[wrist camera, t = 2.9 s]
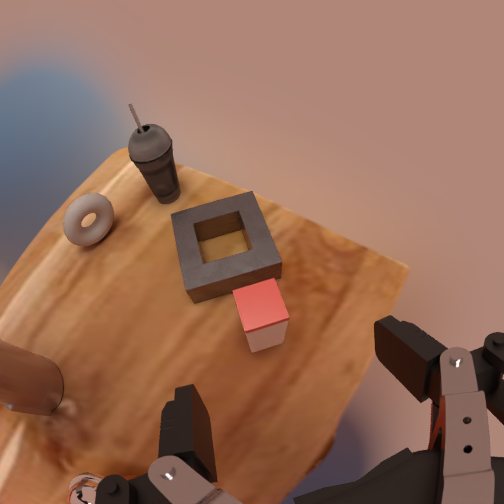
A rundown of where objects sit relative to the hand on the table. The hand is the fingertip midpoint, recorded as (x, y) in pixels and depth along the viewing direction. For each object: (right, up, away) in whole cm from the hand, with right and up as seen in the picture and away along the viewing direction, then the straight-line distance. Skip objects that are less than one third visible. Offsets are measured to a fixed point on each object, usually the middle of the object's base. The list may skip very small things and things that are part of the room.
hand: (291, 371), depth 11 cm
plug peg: (0, -6, +27) cm, 28 cm away
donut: (-29, +8, +37) cm, 48 cm away
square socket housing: (-6, +5, +34) cm, 34 cm away
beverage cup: (-17, +15, +41) cm, 47 cm away
